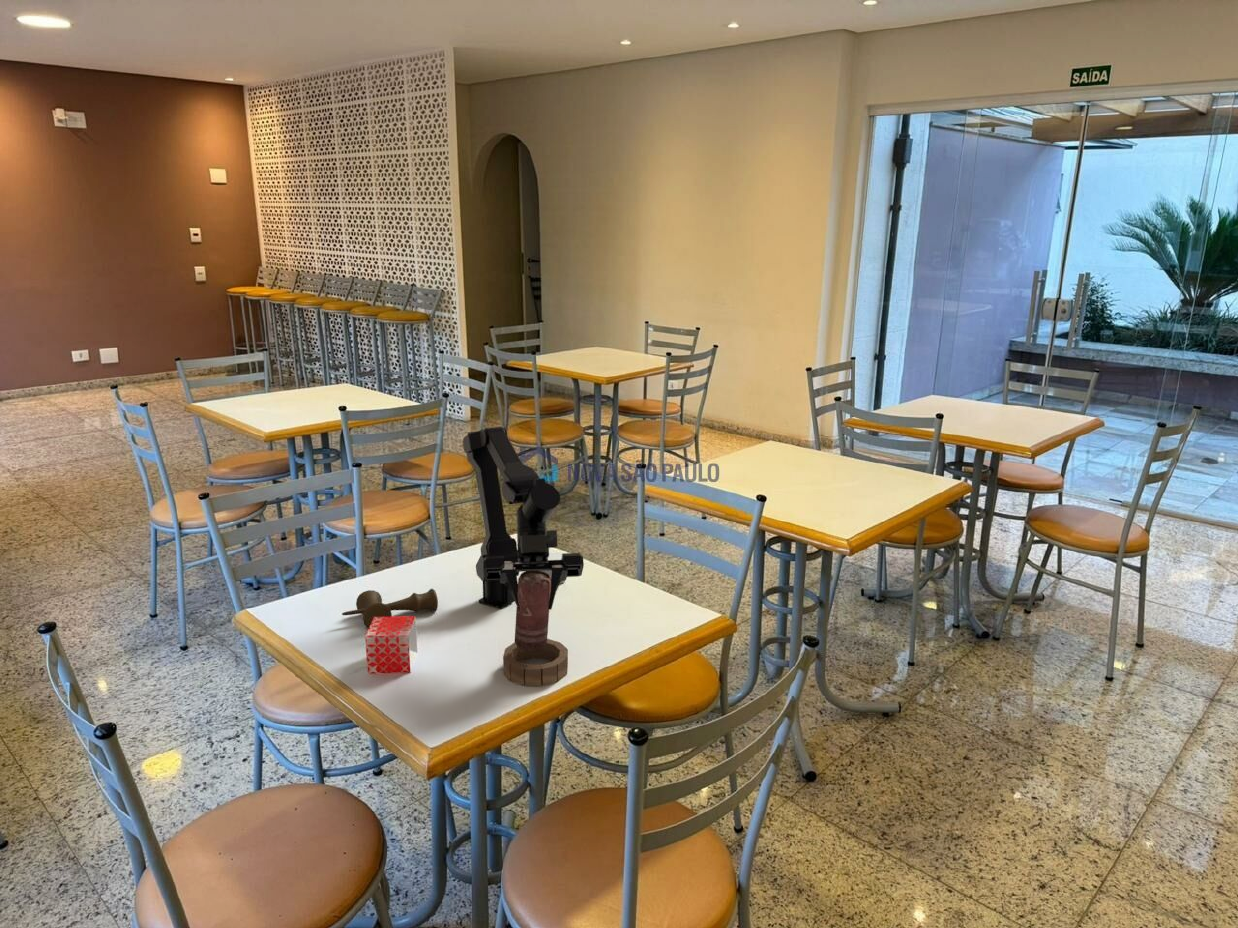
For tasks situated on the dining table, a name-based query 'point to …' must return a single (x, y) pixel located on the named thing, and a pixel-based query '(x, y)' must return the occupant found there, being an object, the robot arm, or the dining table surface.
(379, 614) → the kendama
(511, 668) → the walnut ring
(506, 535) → the robot arm
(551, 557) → the small box
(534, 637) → the can
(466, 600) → the dining table surface
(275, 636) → the dining table surface
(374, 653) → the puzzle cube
